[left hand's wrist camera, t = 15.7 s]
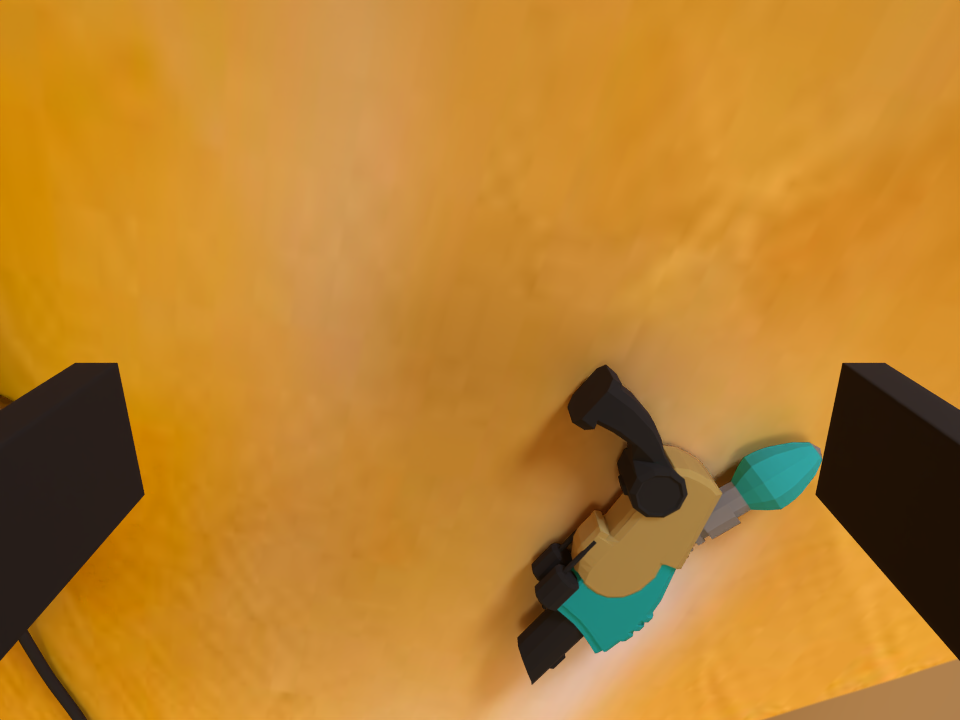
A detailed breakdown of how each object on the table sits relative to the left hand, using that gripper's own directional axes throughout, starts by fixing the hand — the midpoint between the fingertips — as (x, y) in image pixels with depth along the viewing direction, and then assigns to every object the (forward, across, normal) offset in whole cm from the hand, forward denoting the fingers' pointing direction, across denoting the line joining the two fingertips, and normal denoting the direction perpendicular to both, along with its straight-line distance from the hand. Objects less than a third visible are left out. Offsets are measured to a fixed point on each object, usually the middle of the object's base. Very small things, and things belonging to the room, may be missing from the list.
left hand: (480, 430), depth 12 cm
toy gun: (+28, -8, +21) cm, 36 cm away
